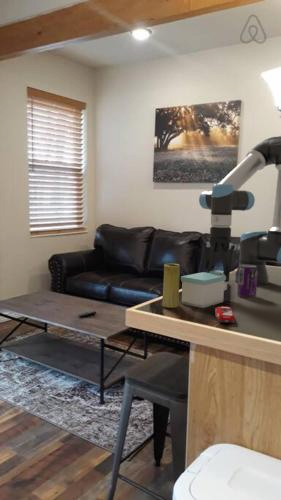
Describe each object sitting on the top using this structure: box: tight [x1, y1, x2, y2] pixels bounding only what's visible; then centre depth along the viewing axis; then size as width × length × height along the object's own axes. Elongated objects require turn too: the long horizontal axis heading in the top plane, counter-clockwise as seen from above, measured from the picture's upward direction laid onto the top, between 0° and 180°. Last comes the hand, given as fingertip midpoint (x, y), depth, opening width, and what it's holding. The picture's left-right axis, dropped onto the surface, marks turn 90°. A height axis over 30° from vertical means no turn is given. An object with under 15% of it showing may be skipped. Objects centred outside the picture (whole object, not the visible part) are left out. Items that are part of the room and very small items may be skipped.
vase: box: [161, 263, 181, 309], centre depth 139 cm, size 6×6×14 cm
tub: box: [181, 281, 225, 309], centre depth 144 cm, size 13×9×8 cm
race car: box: [214, 306, 236, 324], centre depth 125 cm, size 13×5×4 cm, turn 173°
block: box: [180, 269, 226, 285], centre depth 146 cm, size 20×10×3 cm, turn 137°
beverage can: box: [236, 264, 258, 299], centre depth 156 cm, size 7×7×12 cm
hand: (218, 288), depth 152 cm, fingers closed on block, 4 cm apart
